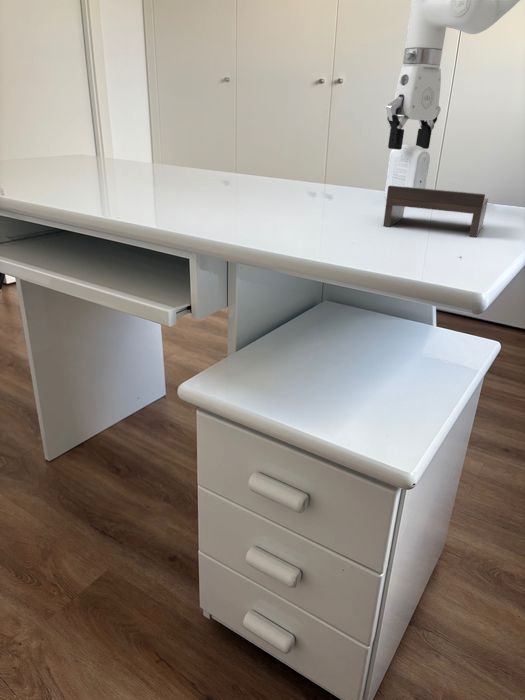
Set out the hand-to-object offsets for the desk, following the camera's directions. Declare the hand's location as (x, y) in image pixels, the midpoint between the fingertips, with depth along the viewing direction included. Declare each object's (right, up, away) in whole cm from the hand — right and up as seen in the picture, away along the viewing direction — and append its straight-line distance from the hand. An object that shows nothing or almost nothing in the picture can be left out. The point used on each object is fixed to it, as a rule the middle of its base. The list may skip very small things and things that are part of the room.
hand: (408, 148), depth 117 cm
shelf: (-1, -21, -19) cm, 29 cm away
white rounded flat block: (0, -11, +5) cm, 12 cm away
